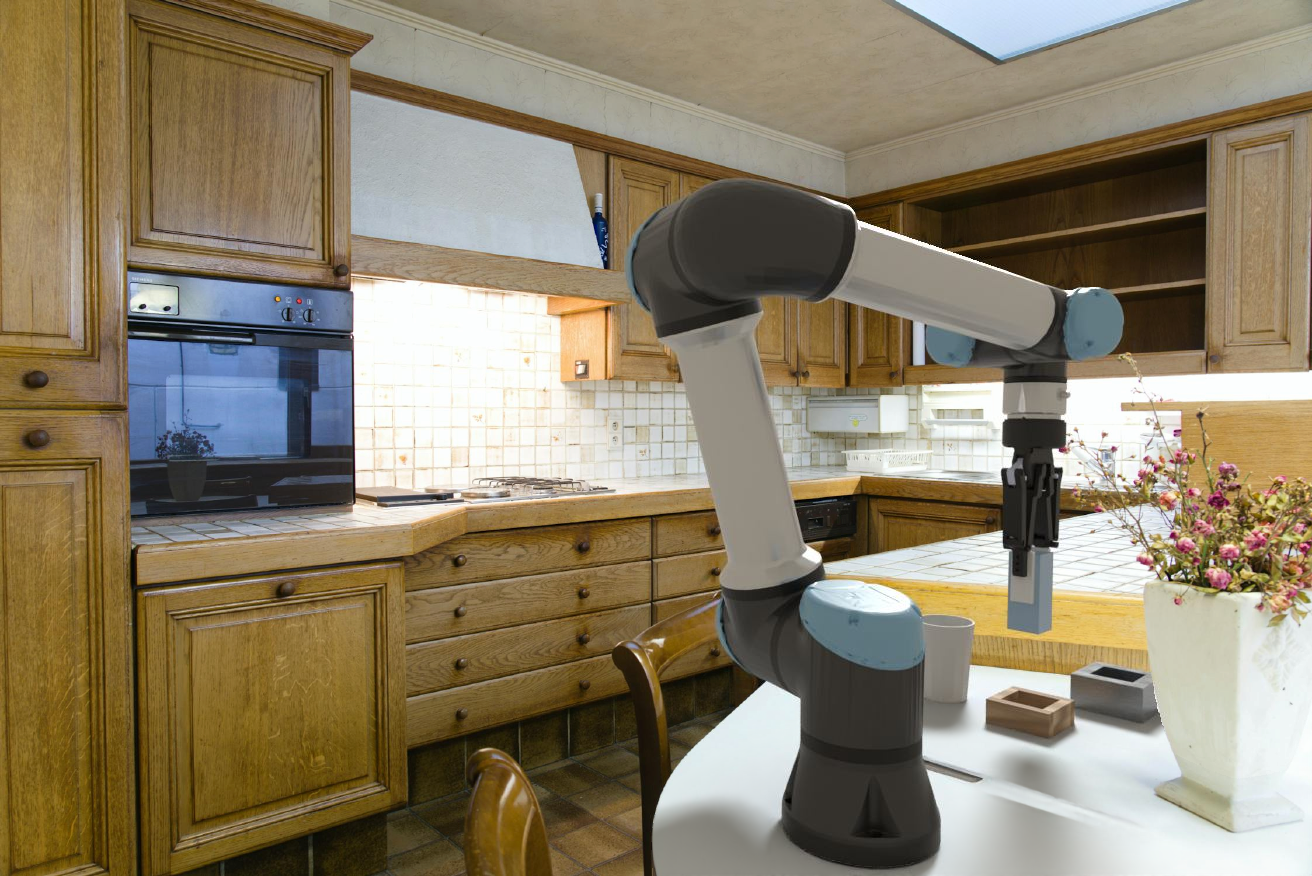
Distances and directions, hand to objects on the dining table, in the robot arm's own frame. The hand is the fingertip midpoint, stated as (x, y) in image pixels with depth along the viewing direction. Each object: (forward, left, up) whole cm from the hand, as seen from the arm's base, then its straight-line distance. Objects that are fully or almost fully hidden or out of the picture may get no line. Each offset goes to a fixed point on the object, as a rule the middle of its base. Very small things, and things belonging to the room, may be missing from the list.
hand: (1029, 599), depth 111 cm
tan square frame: (0, 0, -16) cm, 16 cm away
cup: (+2, +13, -18) cm, 22 cm away
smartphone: (-17, +5, -18) cm, 25 cm away
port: (+15, -6, -16) cm, 23 cm away
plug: (0, 0, -4) cm, 4 cm away
